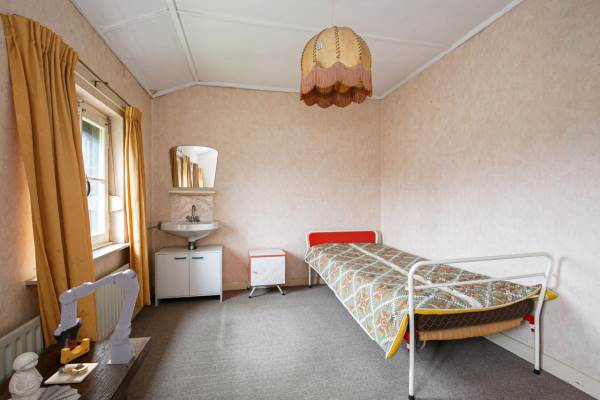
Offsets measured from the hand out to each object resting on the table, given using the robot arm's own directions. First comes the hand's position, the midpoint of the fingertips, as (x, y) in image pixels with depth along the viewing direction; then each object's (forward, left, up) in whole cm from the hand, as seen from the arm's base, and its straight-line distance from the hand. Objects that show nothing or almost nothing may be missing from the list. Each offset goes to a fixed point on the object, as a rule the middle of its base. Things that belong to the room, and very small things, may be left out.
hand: (67, 343), depth 128 cm
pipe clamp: (+1, -7, -10) cm, 12 cm away
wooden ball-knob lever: (-8, +8, -9) cm, 14 cm away
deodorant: (+7, -13, -10) cm, 18 cm away
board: (-8, +8, -10) cm, 15 cm away
